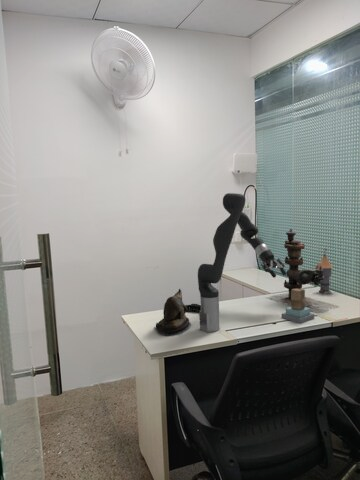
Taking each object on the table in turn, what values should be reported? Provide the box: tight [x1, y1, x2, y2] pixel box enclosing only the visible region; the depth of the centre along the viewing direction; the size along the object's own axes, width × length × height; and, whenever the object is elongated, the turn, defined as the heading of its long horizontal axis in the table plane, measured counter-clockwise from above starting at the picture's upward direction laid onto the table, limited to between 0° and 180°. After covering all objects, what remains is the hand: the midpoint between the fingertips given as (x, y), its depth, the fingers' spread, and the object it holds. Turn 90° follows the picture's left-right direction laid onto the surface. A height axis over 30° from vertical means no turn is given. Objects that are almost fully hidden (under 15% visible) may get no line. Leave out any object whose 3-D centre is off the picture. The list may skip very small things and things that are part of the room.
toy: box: [184, 303, 201, 312], centre depth 226 cm, size 8×6×30 cm
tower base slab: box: [281, 311, 315, 324], centre depth 206 cm, size 12×12×3 cm
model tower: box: [314, 248, 334, 295], centre depth 253 cm, size 10×11×30 cm
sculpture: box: [155, 288, 192, 337], centre depth 195 cm, size 23×18×20 cm
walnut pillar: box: [290, 288, 306, 310], centre depth 205 cm, size 5×5×10 cm
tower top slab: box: [285, 306, 311, 317], centre depth 205 cm, size 9×9×3 cm
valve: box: [265, 228, 340, 314], centre depth 233 cm, size 42×20×45 cm, turn 32°
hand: (280, 275), depth 213 cm, fingers open, 8 cm apart
